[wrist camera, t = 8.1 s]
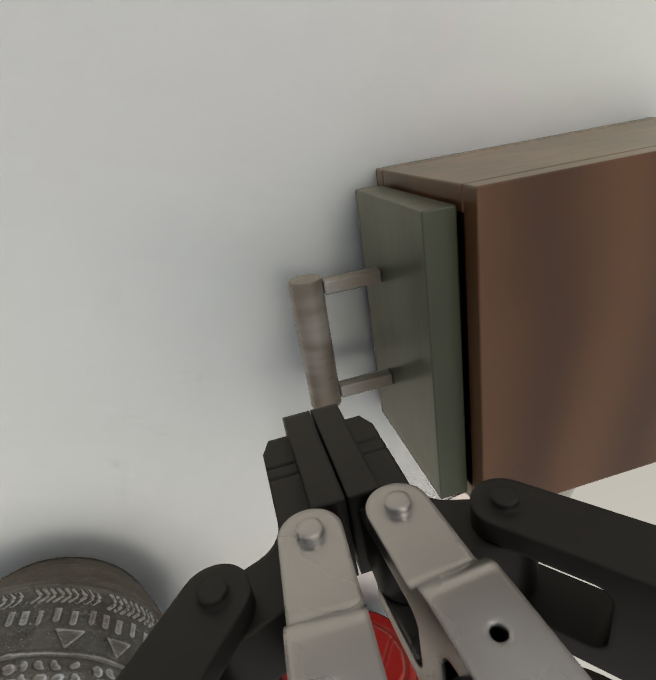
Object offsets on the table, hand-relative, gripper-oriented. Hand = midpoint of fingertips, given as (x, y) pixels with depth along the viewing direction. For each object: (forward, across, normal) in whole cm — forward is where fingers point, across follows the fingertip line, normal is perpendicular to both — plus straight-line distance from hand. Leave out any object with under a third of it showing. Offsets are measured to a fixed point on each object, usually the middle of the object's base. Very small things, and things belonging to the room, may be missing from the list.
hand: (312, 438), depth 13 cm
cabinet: (+11, -14, +1) cm, 18 cm away
